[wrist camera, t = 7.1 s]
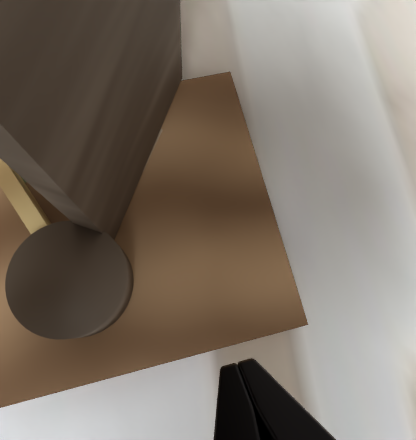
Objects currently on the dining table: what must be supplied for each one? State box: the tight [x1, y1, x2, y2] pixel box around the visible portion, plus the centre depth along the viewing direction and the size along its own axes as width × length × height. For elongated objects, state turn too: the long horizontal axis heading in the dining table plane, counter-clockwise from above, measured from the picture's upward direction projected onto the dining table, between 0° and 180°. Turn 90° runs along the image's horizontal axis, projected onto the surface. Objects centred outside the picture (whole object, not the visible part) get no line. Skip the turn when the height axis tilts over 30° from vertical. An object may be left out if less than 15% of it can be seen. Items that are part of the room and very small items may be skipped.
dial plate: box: [0, 72, 308, 408], centre depth 18 cm, size 13×14×2 cm
